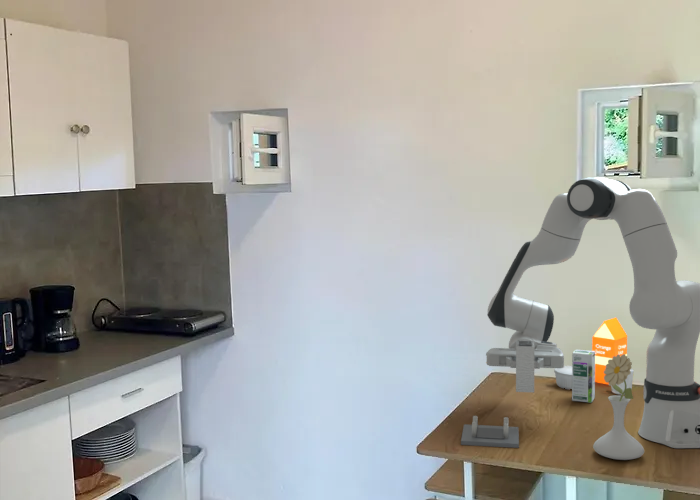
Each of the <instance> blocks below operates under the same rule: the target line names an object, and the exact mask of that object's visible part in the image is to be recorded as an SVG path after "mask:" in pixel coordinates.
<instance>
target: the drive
mask: <svg viewBox="0 0 700 500" xmlns="http://www.w3.org/2000/svg"><path fill="white" fill-rule="evenodd" d="M534 350H535V346H534V342H531V341H516V368H515V392H516V393H535V369H534Z"/></svg>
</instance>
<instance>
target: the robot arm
mask: <svg viewBox="0 0 700 500" xmlns="http://www.w3.org/2000/svg"><path fill="white" fill-rule="evenodd" d="M591 220H596V221H597V220H599V221H605V220H614V221H615V223H617V225H618V227H619V229H620V232H621V235H622V238H623V242H624V244H625V247H626V251H627V253H628V257H629V260H630V263H631V267H632V273H633V293H632V296H631V299H630V301H629V308H628V309H629V314H630V316H631V318H632V320H633V321H634V323H636V324H637V326H639V327H641V328H643V329H649V330H655V332H654V336H653V338H652V339H651V341H650V343H649V344H648V347H647V349H646V363H645V364H646V365H645V366H646V367H645V369H646V370H645V371H646V372H645V378H644V382H643V401H644V405H643V406H644V407H643V412H642V413H643V414H642V417H641V422H640V426H639V428H638V432H637V433H638V435H639V436H640V437H642V438H644V439H646V440H647V441H651V442H655V443H658V444H660V445H665V446H667V447H670V448H672V449H673V448H674V449H700V383H697V381H694V379H695V377H694V376H695V360H696V359H695V357H696V356H695V355H696V349H697V345H698V344H697V343H698V340H699V338H700V337H699V336H700V282H696V281H692V280H686V279H685V280H684V279H682V280H676V271H675V263H676V260H677V258H678V250H677V246H676V244H675V241H674V239H673V236H672V234H671V231H670V228H669V226H668V225H669V224H668V223H667V220H666V217H665V215H664V213H663V211H662V209H661V207H660V205H659V203H658V202H657V200H656V198H655V197H654V195H653V194H652V193H651V192H650V191H648V190H646V189H642V188H635V189H632V188H631V187H630V186H629V185H628V184H627V183H625V182H623V181H622V180H621V181H620V180H618V179H611V178H610V179H609V178H607V177H583V178H581V179H578V180H576V181H575V182H574V183H572V185H571V186H570V188H569V189H568V191H567V192H565V193H560V194H558V195H556V196H555V197H554V198H553V200H552V201H551V203H550V205H549V208H548V210H547V212H546V213H545V217H544V219H543V221H542V224H541V228H540V230H539V231H538V234H537V235H536V236H535V237H534V238H533V239H532V240H531V241H530V240H529V241H526V242H524V244H523V245H522V246H521V248H519V251H518V252H517V254H516V255H515V257H514V259H513V261H512V263H511V265H510V267H509V270H507V273H506V274H505V277H504V278H503V280H502V282H501V285H500V286H499V287H498V290H497V292H495V294H494V295H493V297H492V298H491V300H490V301H489V304H488V307H487V317H488V319H489V321H490V322H491V323H492V324H493V326H495V327H499V328H505V329H510V330H512V331H514V333H513V334H512V335H511V336H510V339H509V342H508V347H507V348H506V347H504V348H503V347H493V348H492V347H491V348H489V350H488V351H486V353H485V356H486V365H487V366H489V367H504V368H505V367H508V368H511V369H516V341H531V342H534V346H535V350H534V370H535V369H536V370H540V369H555V368H563V367H564V366H565V356H564V355H565V354H564V353H563V350H562V349H561V348H559V347H558V344H557V343H556V342H552V341H549V339H550V337H551V334H552V331H553V328H554V322H555V321H554V320H555V316H554V313H553V310H552V308H551V307H550V306H549V304H545V303H542V302H539V301H535V300H531V299H528V298H524V297H522V296H519V295H517V294H516V295H515V294H514V292H515V290H516V288H517V286H518V284H519V283H520V280H521V278H522V277H523V274H524V273H525V272H526V271H527V270H528V269H530V268H533V267H536V266H537V267H538V266H546V265H557V264H560V263H561V264H562V263H564V262H567V261H568V260H570V259H572V258H573V256H574V255H575V254H576V252H577V249H578V248H579V245H580V242H581V239H582V236H583V232H584V230H585V227H586V225H587V224H588V223H589V222H590V221H591Z"/></svg>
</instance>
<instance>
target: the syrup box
mask: <svg viewBox="0 0 700 500" xmlns="http://www.w3.org/2000/svg"><path fill="white" fill-rule="evenodd" d="M571 366H572V390H571V401H572V402H582V403H588V404H589V403H590V404H592V403H593V401H594V399H595V397H596V395H595V394H596V392H595V391H596V382H595V351H592V350H586V349H585V350H583V349H575V350H573V352H572V354H571Z"/></svg>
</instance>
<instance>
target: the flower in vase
mask: <svg viewBox="0 0 700 500" xmlns="http://www.w3.org/2000/svg"><path fill="white" fill-rule="evenodd" d="M632 364H633V361H631V360H630V358H628V355H627V356H625V354H623V355H621V357H620V355H619V354H618V355H617V356H613V358H612V360H611V359H610V360H608V364H607V365H606V368H605V370H604V374H606V375H605V376H604V380H605V382H606V383H608V382H609V383H608V384H609V385H608V384H607V385H608V386H609V387H611V385H612V387H613V388H614V389H615V390H616V391H618V392H619V393H621V394H622V395H621V394H620V395H618V394H616V395H610V396H607V399H608V401H610V404H611V406H612V411H613V424H612V425H613V426H612V428H611V429H610V430H609V431H608V432H606V433H605V434H603V435H601V436H600V437H598V439H596V440H595V441H594V443H593V445H592V447H593V450H594V451H595V452H596V454H599V456H602V457H605V458H609V459H611V460H612V459H613V460H620V461H628V460H629V461H630V460H634V459H638V458H640V457H643V455H644V453H645V449H644V446H643V445H642V443H640V441H638V440H637V439H636V438H635V437H633V436H632V435H631V434H630V433H628V431H627V430H626V428H625V413H626V408H627V405H628V404H629V403H630V402H631V400H633V399H634V396H633V391H632V390H631V388H627V389H626V387H627V385H626V381H625V380H626V379H627V376H628V375H629V374H630V373H631V371H630V370H631V369H632V366H633V365H632ZM623 382H624V383H625V389H624V392H623V391H622V389H621V388H620V387H618V386H617V385H619V384H621V383H623ZM616 384H617V385H616ZM624 393H625V395H624Z"/></svg>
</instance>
